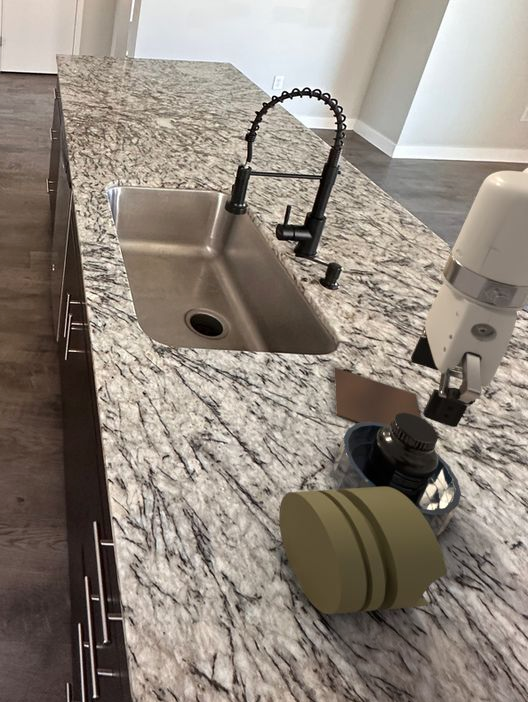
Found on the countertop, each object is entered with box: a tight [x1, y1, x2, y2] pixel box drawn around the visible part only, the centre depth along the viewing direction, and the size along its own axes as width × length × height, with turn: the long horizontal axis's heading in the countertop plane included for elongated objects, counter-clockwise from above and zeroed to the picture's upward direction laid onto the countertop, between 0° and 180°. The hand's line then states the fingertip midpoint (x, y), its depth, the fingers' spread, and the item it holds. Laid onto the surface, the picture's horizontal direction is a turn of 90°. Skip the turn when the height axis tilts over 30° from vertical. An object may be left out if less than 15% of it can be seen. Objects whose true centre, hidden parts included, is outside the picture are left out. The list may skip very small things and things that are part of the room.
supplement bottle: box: [362, 413, 439, 507], centre depth 72 cm, size 7×7×12 cm
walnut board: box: [333, 367, 421, 425], centre depth 88 cm, size 12×11×1 cm
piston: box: [278, 486, 448, 615], centre depth 62 cm, size 11×12×11 cm
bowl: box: [333, 422, 462, 538], centre depth 73 cm, size 13×13×6 cm
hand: (431, 391), depth 67 cm, fingers open, 9 cm apart
